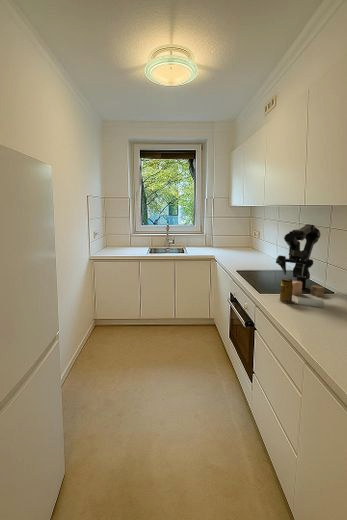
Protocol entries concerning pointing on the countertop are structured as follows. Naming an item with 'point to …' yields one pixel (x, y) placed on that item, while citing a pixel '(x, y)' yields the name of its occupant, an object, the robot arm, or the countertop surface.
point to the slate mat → (310, 302)
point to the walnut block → (317, 290)
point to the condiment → (286, 292)
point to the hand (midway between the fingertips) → (293, 275)
